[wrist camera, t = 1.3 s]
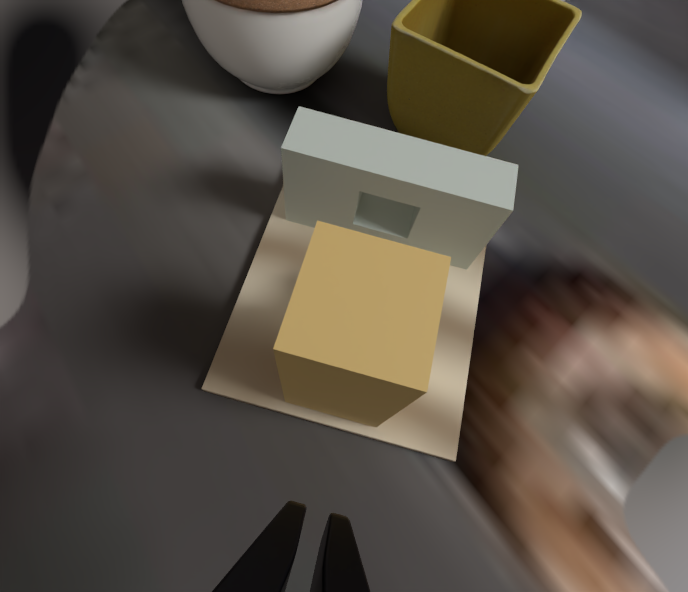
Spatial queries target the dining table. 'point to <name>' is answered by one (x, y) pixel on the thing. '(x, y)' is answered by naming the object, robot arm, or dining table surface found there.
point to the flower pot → (471, 66)
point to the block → (360, 325)
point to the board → (267, 316)
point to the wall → (394, 186)
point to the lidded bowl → (274, 38)
